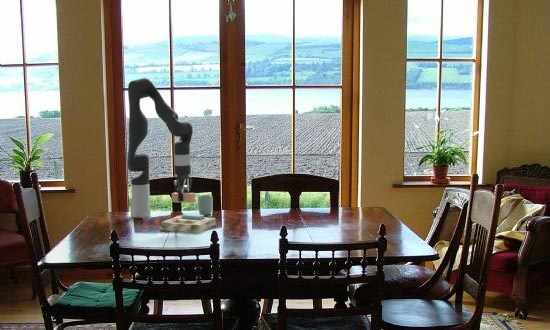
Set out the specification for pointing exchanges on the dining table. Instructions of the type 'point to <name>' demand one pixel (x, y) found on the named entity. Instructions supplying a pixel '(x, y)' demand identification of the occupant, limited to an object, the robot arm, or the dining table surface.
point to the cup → (205, 204)
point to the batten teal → (193, 217)
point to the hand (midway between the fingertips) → (183, 200)
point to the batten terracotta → (184, 197)
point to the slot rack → (188, 224)
